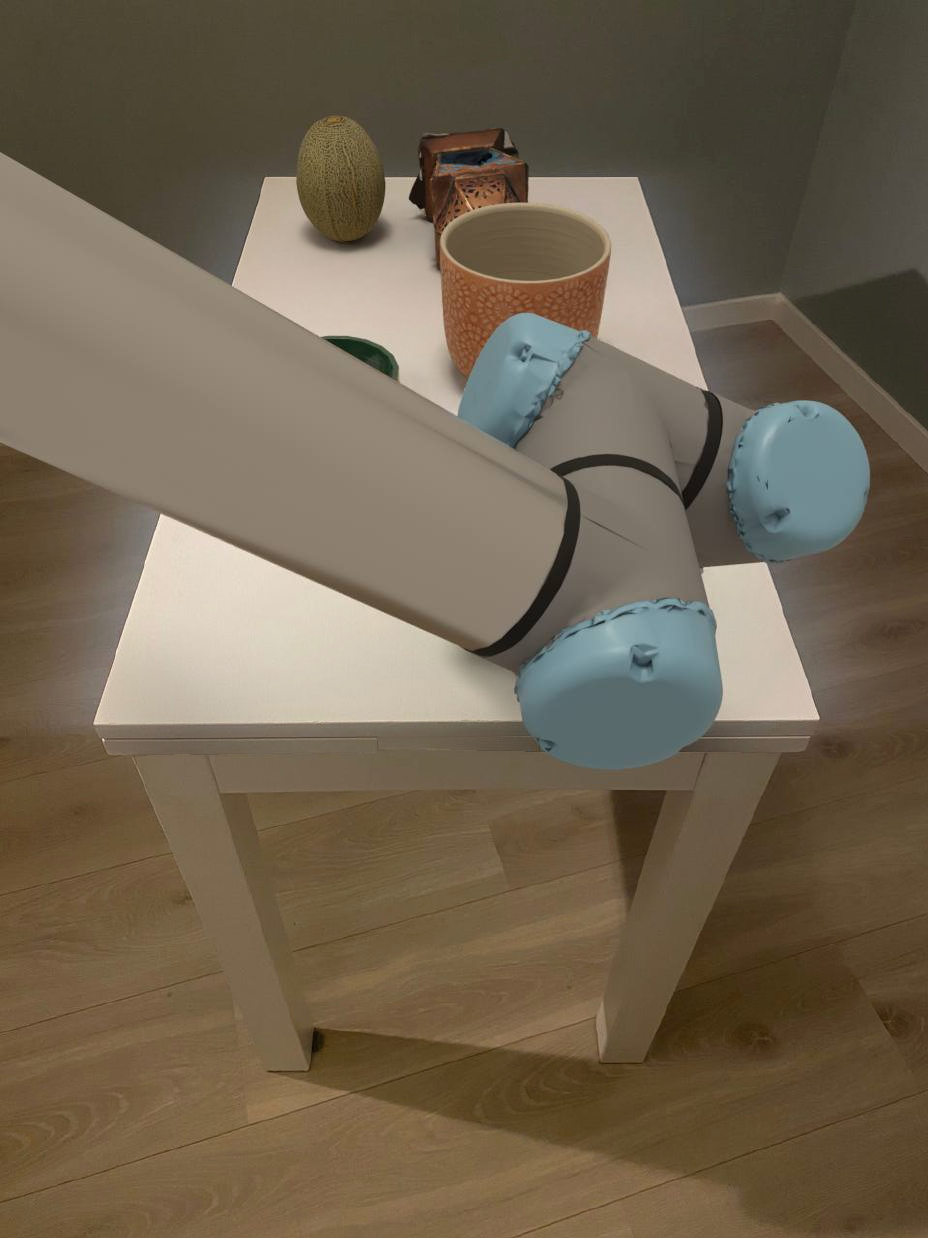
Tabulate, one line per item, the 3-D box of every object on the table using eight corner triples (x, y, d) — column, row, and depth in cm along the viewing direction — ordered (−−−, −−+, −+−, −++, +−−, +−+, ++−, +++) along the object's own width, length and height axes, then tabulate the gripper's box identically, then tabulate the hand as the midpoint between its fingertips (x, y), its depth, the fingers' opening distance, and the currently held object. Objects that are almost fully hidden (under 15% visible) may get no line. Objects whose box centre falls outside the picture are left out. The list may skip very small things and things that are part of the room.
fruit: (393, 218, 129) (386, 101, 118) (382, 257, 121) (374, 136, 110) (311, 215, 129) (297, 98, 118) (295, 254, 122) (279, 133, 111)
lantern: (454, 257, 134) (490, 342, 117) (375, 174, 124) (401, 253, 107) (542, 174, 128) (592, 250, 111) (465, 79, 118) (508, 146, 101)
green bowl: (310, 465, 93) (305, 428, 89) (247, 399, 100) (239, 362, 97) (425, 417, 98) (424, 380, 95) (357, 357, 106) (353, 321, 102)
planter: (578, 327, 110) (591, 197, 99) (610, 412, 99) (629, 277, 88) (435, 336, 109) (431, 205, 97) (450, 423, 97) (449, 287, 86)
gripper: (515, 633, 55) (406, 633, 76) (802, 514, 62) (629, 544, 83) (472, 512, 54) (374, 546, 75) (768, 406, 61) (603, 463, 82)
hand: (508, 545), depth 79 cm, fingers closed on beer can, 10 cm apart
